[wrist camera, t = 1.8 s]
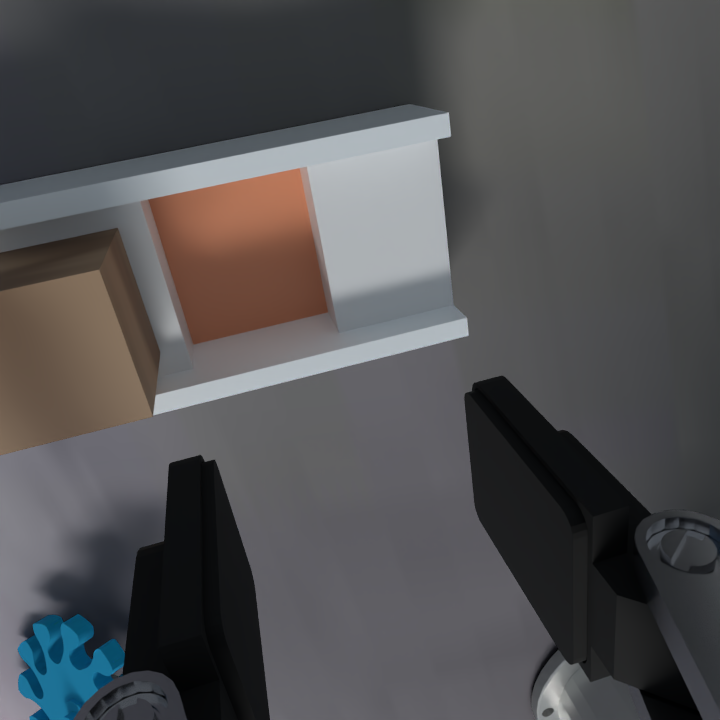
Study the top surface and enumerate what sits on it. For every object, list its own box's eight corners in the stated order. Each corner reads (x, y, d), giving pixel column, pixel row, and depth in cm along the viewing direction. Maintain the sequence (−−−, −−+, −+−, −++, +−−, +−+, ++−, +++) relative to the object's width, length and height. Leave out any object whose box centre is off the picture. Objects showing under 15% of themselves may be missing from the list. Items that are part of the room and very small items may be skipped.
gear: (27, 585, 29) (168, 752, 26) (131, 532, 34) (260, 667, 31) (-13, 718, 34) (102, 874, 31) (83, 655, 39) (191, 783, 36)
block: (117, 227, 22) (99, 269, 18) (160, 352, 25) (153, 416, 20) (-30, 259, 22) (-87, 310, 17) (27, 384, 24) (-10, 457, 20)
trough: (410, 103, 26) (448, 112, 22) (432, 298, 30) (468, 335, 26) (-293, 243, 22) (-398, 283, 18) (-163, 442, 26) (-226, 510, 22)
